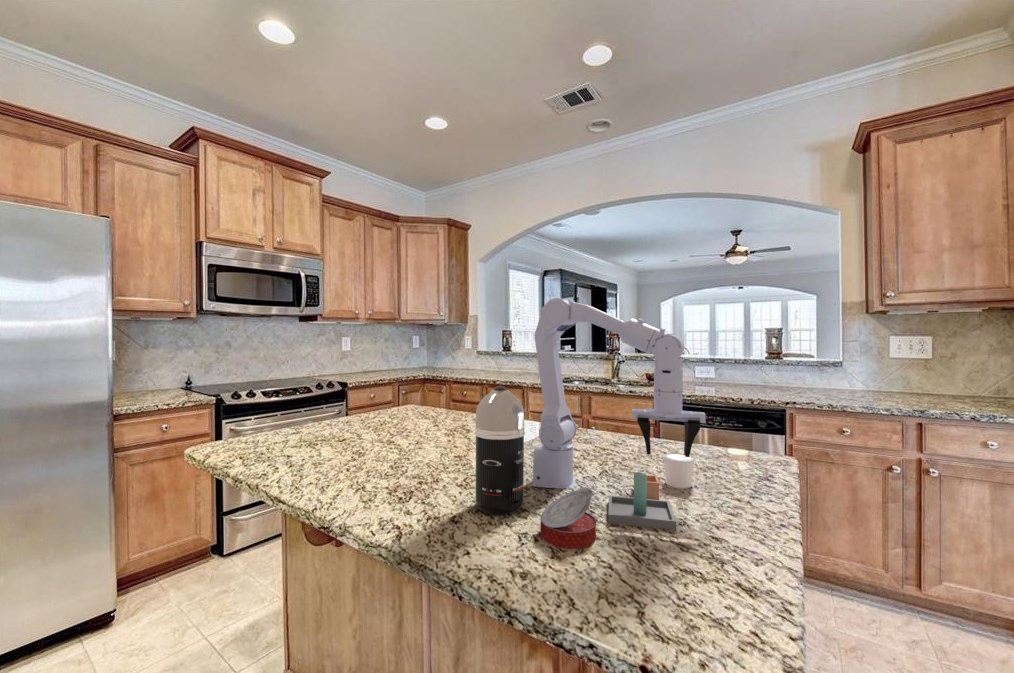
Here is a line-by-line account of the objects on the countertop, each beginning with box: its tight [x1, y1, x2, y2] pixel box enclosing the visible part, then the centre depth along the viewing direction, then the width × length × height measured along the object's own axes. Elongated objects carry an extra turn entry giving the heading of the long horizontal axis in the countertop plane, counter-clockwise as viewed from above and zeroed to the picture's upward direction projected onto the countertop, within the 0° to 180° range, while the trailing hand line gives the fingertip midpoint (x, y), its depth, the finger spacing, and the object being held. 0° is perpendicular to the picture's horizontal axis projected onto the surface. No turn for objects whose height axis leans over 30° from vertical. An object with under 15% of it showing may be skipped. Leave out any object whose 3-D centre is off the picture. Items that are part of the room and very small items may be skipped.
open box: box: [647, 474, 660, 500], centre depth 96 cm, size 5×5×4 cm
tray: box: [607, 495, 677, 531], centre depth 84 cm, size 12×10×2 cm
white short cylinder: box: [663, 452, 695, 489], centre depth 102 cm, size 7×7×7 cm
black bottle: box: [474, 385, 526, 516], centre depth 89 cm, size 10×10×25 cm
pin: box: [633, 471, 648, 515], centre depth 84 cm, size 2×2×8 cm
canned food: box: [539, 487, 597, 550], centre depth 77 cm, size 11×10×10 cm
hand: (667, 454), depth 92 cm, fingers open, 7 cm apart
